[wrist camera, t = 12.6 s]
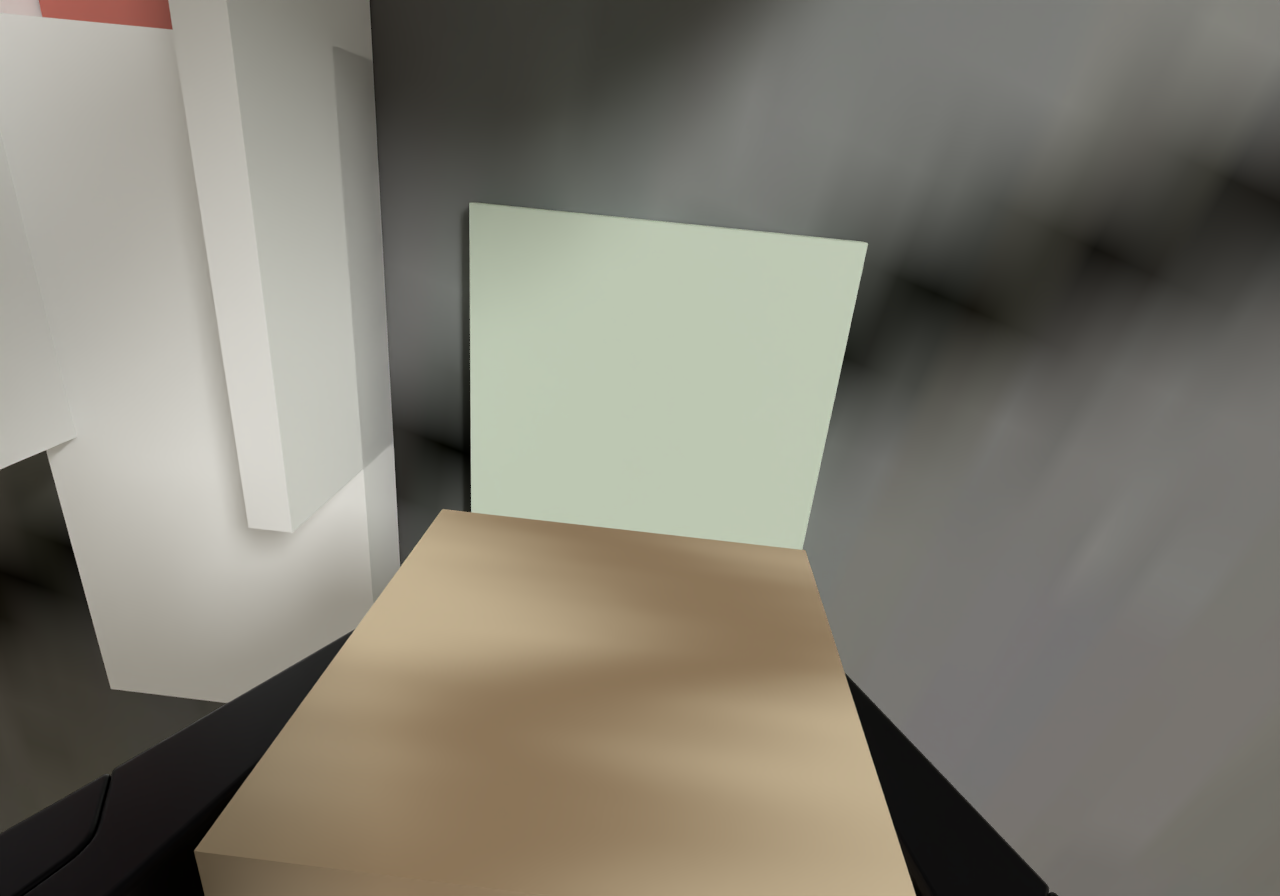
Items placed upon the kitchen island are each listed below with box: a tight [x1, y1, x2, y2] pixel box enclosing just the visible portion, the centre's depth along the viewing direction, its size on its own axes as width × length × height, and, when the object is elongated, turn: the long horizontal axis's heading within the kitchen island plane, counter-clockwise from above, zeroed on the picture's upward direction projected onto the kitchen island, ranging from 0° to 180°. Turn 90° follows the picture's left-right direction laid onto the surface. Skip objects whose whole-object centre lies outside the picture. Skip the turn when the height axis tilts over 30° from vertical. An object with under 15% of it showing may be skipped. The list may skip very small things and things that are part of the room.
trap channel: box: [0, 0, 400, 703], centre depth 16 cm, size 9×27×6 cm, turn 175°
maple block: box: [194, 509, 916, 896], centre depth 8 cm, size 5×5×5 cm
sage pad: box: [469, 202, 868, 550], centre depth 19 cm, size 10×10×1 cm
